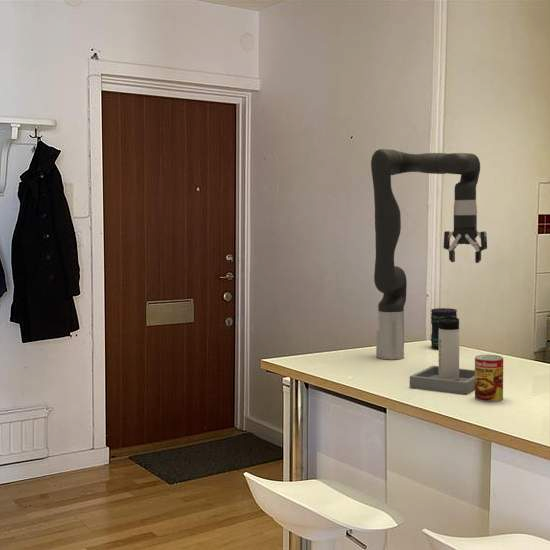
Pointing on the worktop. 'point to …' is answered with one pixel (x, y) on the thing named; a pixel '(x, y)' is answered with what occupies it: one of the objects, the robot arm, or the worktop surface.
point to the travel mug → (449, 348)
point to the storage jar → (435, 318)
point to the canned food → (489, 378)
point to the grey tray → (443, 381)
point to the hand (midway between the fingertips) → (465, 262)
